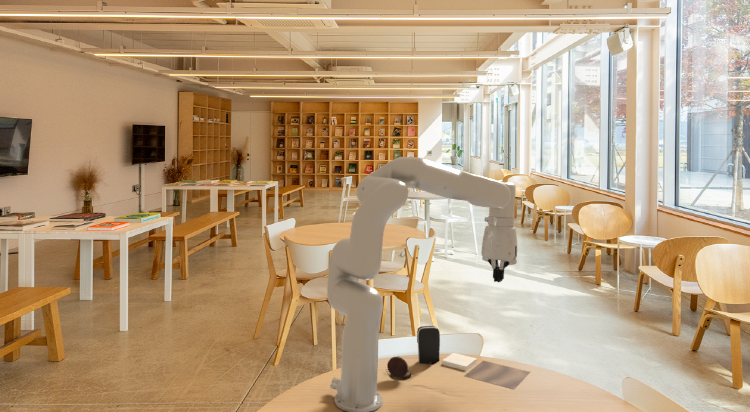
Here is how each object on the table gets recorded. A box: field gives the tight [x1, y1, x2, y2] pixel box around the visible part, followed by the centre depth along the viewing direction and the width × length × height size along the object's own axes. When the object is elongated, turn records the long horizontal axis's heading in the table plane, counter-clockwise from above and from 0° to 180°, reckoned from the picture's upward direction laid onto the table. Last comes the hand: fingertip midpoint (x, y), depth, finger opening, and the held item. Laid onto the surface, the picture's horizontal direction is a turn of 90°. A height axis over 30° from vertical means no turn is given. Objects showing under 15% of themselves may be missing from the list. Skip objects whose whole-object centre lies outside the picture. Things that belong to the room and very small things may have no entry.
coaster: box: [441, 352, 478, 372], centre depth 168 cm, size 8×8×2 cm
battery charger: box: [416, 325, 441, 365], centre depth 172 cm, size 7×4×11 cm, turn 98°
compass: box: [385, 355, 412, 380], centre depth 161 cm, size 8×8×7 cm
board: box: [464, 360, 531, 390], centre depth 161 cm, size 15×15×2 cm
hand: (498, 281), depth 168 cm, fingers closed
